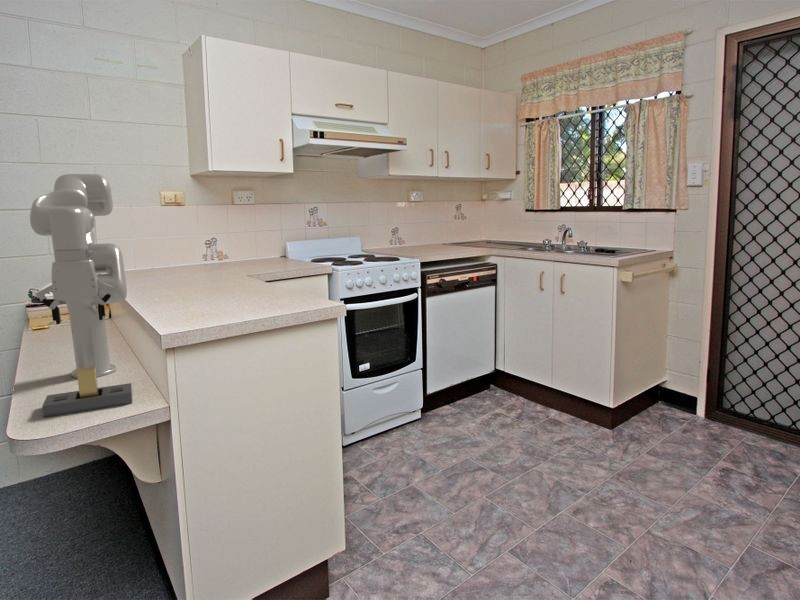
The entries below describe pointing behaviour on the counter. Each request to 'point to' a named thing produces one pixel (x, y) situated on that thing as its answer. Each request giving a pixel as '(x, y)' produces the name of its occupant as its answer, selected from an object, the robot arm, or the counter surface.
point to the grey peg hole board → (87, 400)
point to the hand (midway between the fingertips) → (80, 321)
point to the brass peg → (87, 382)
